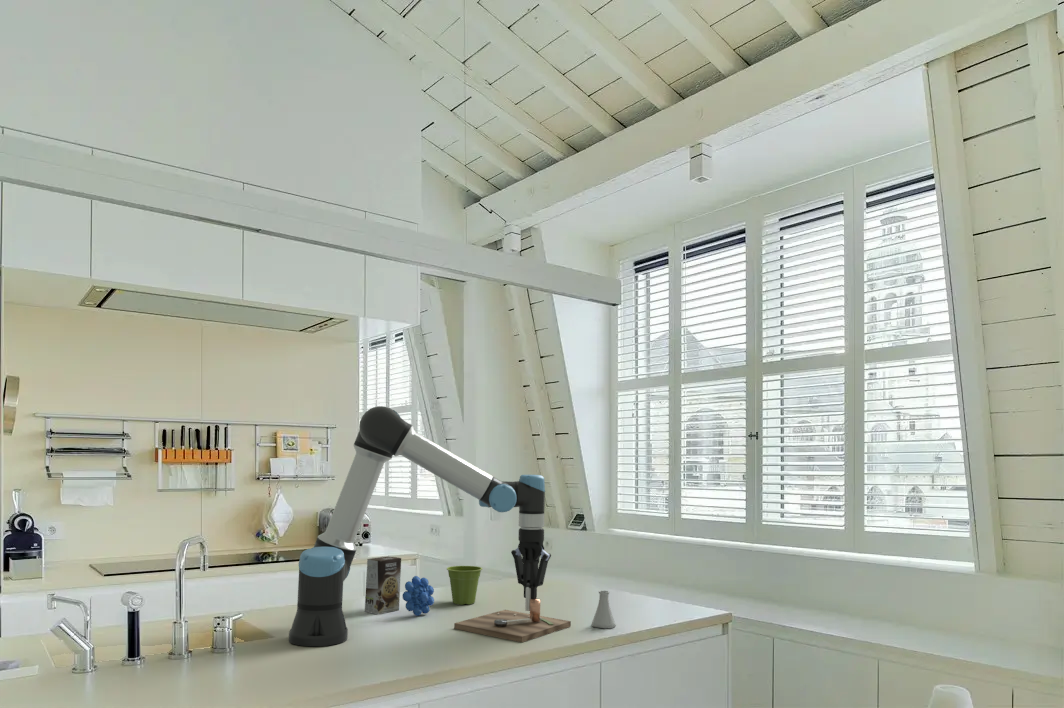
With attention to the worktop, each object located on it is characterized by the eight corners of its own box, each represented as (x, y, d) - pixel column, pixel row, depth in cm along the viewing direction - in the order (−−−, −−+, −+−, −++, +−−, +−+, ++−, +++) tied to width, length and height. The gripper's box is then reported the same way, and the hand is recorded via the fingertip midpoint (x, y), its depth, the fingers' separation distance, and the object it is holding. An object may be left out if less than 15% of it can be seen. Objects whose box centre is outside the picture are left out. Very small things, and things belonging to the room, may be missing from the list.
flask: (614, 629, 235) (615, 594, 236) (589, 628, 236) (590, 592, 237) (617, 624, 242) (617, 589, 243) (592, 622, 243) (593, 588, 244)
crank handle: (497, 626, 228) (498, 604, 228) (492, 623, 231) (492, 601, 231) (543, 621, 235) (544, 600, 235) (537, 619, 238) (538, 597, 238)
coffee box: (378, 614, 247) (380, 560, 249) (363, 611, 251) (366, 558, 253) (400, 610, 255) (402, 557, 256) (386, 607, 258) (388, 555, 260)
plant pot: (484, 600, 273) (485, 565, 274) (478, 607, 261) (479, 571, 262) (449, 598, 274) (450, 564, 275) (442, 605, 262) (443, 570, 263)
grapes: (410, 621, 240) (412, 579, 241) (397, 617, 245) (398, 576, 246) (441, 615, 248) (443, 575, 249) (428, 611, 253) (429, 572, 254)
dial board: (522, 642, 218) (522, 635, 218) (454, 628, 232) (454, 622, 232) (570, 626, 238) (570, 620, 238) (505, 614, 251) (505, 608, 252)
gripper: (556, 528, 239) (555, 611, 236) (521, 524, 246) (519, 604, 244) (542, 530, 233) (540, 615, 230) (506, 527, 240) (504, 609, 238)
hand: (529, 609), depth 237 cm, fingers closed
